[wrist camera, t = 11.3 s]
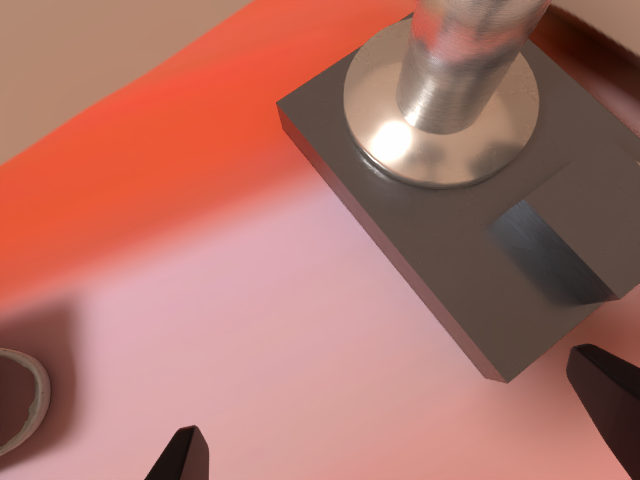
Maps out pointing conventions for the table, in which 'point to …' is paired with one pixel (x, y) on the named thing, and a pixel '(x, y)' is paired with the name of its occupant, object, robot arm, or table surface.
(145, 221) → the table surface
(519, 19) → the steel weight
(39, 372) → the ceramic mug
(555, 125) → the bench scale
